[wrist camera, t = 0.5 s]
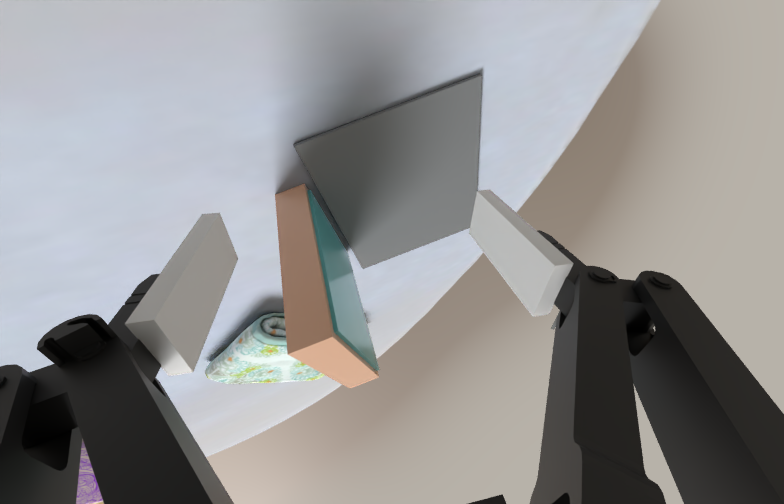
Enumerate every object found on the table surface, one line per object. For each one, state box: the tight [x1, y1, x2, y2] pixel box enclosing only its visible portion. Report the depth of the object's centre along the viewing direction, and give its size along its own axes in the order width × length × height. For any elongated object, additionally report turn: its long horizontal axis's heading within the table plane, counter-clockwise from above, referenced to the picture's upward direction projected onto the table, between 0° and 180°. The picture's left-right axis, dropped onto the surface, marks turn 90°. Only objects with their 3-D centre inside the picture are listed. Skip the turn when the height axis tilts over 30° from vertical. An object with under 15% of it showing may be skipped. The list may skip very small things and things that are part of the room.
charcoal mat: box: [294, 74, 482, 269], centre depth 32 cm, size 20×17×1 cm
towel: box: [205, 313, 324, 384], centre depth 50 cm, size 18×21×5 cm
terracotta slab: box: [275, 184, 379, 388], centre depth 27 cm, size 12×3×16 cm, turn 12°
